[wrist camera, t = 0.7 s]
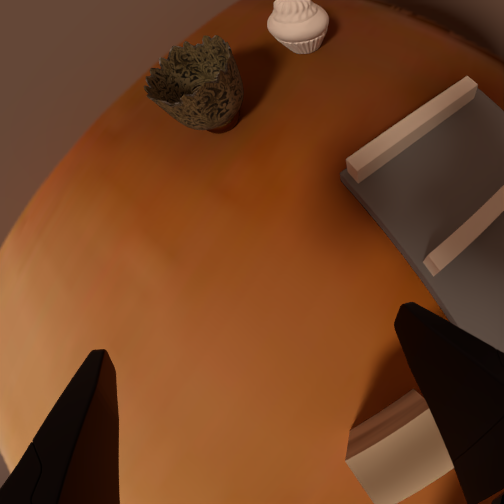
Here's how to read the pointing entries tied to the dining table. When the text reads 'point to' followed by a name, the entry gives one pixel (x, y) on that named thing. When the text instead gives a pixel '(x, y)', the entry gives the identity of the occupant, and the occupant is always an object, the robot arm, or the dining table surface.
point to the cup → (199, 85)
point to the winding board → (444, 202)
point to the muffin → (298, 25)
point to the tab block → (398, 450)
